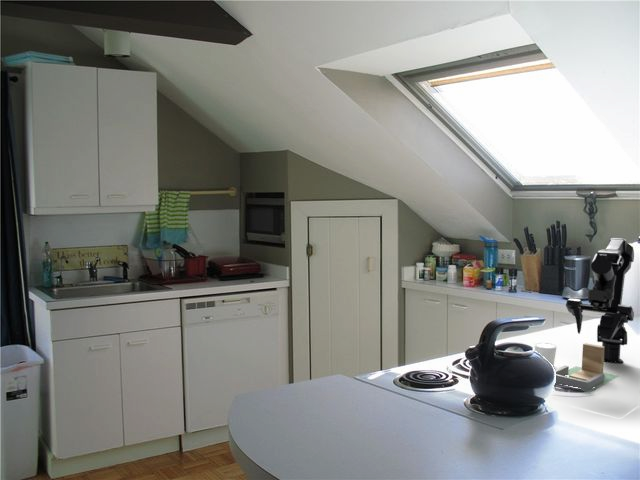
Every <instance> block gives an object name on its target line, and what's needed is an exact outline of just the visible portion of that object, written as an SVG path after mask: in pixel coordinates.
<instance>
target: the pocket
mask: <svg viewBox="0 0 640 480" xmlns="http://www.w3.org/2000/svg"><path fill="white" fill-rule="evenodd" d="M569 369H570V368H569V365H563V366H561V367H559V368H557V369H554V370H555V372H556V384H555V385H557V384H562V385H568V386H573V387H578V388H581V389H583V390H585V391H584V392H586V391H588V390H590V389H592V388H593V387H596V386H598V385H600V384H601V383H603V382H604V374H602V373H600V374H598V375H596V376H594V377H592V378H590V379H588V380H586V381H584V380H580V379H575V378H571V377H567V376H565V375H567V374H568V370H569Z"/></svg>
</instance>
